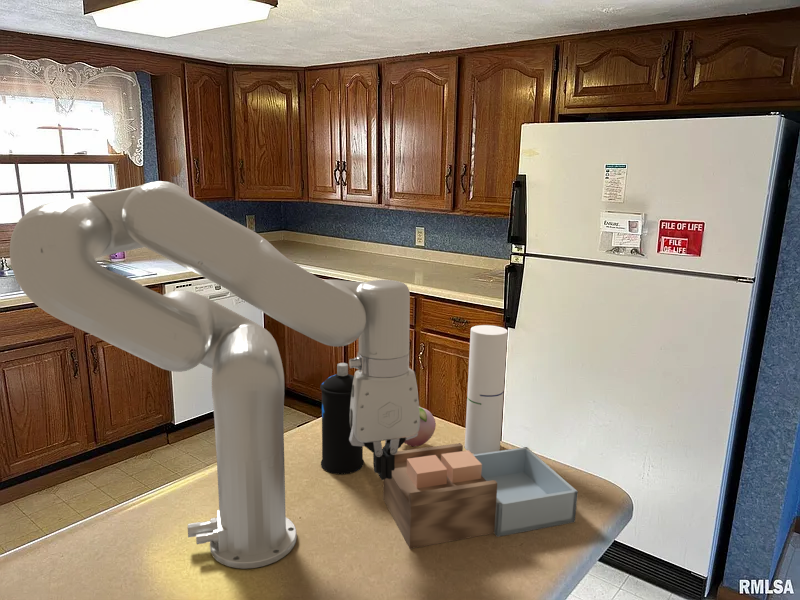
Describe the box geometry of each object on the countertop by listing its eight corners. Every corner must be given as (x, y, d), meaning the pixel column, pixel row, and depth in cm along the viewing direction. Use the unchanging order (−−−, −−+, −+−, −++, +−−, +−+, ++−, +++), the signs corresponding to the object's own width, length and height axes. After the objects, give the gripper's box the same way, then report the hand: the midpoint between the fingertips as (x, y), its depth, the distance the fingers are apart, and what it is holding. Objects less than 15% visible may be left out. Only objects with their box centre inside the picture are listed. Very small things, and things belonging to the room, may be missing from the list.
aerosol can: (372, 461, 114) (373, 362, 109) (346, 479, 107) (346, 375, 102) (338, 449, 118) (338, 354, 114) (311, 466, 111) (310, 366, 107)
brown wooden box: (409, 548, 88) (411, 496, 86) (383, 499, 101) (384, 453, 99) (494, 533, 92) (497, 483, 90) (458, 487, 105) (460, 443, 103)
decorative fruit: (381, 443, 121) (382, 398, 119) (412, 433, 126) (414, 389, 124) (409, 462, 114) (410, 413, 111) (441, 450, 118) (443, 404, 116)
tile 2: (452, 483, 93) (453, 468, 92) (440, 467, 98) (441, 454, 97) (481, 478, 94) (481, 464, 94) (468, 463, 99) (468, 450, 98)
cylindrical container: (499, 457, 116) (507, 336, 111) (463, 453, 118) (469, 333, 112) (500, 441, 123) (507, 326, 118) (466, 438, 124) (472, 324, 119)
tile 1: (416, 488, 91) (417, 473, 90) (406, 472, 96) (406, 458, 95) (446, 483, 93) (447, 469, 92) (435, 468, 97) (435, 454, 97)
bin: (497, 536, 91) (499, 504, 90) (456, 484, 106) (457, 456, 105) (574, 522, 95) (577, 491, 94) (524, 474, 110) (526, 447, 109)
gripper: (340, 376, 82) (342, 495, 86) (440, 366, 86) (437, 479, 90) (329, 360, 89) (331, 470, 93) (422, 351, 93) (420, 457, 97)
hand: (383, 475), depth 92 cm, fingers closed
